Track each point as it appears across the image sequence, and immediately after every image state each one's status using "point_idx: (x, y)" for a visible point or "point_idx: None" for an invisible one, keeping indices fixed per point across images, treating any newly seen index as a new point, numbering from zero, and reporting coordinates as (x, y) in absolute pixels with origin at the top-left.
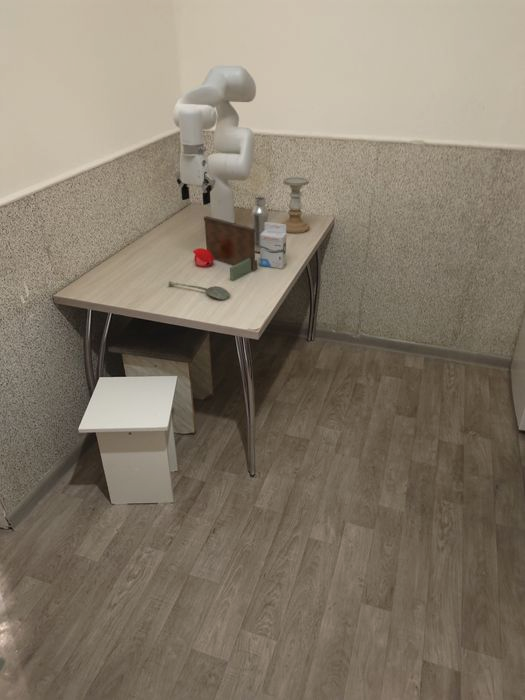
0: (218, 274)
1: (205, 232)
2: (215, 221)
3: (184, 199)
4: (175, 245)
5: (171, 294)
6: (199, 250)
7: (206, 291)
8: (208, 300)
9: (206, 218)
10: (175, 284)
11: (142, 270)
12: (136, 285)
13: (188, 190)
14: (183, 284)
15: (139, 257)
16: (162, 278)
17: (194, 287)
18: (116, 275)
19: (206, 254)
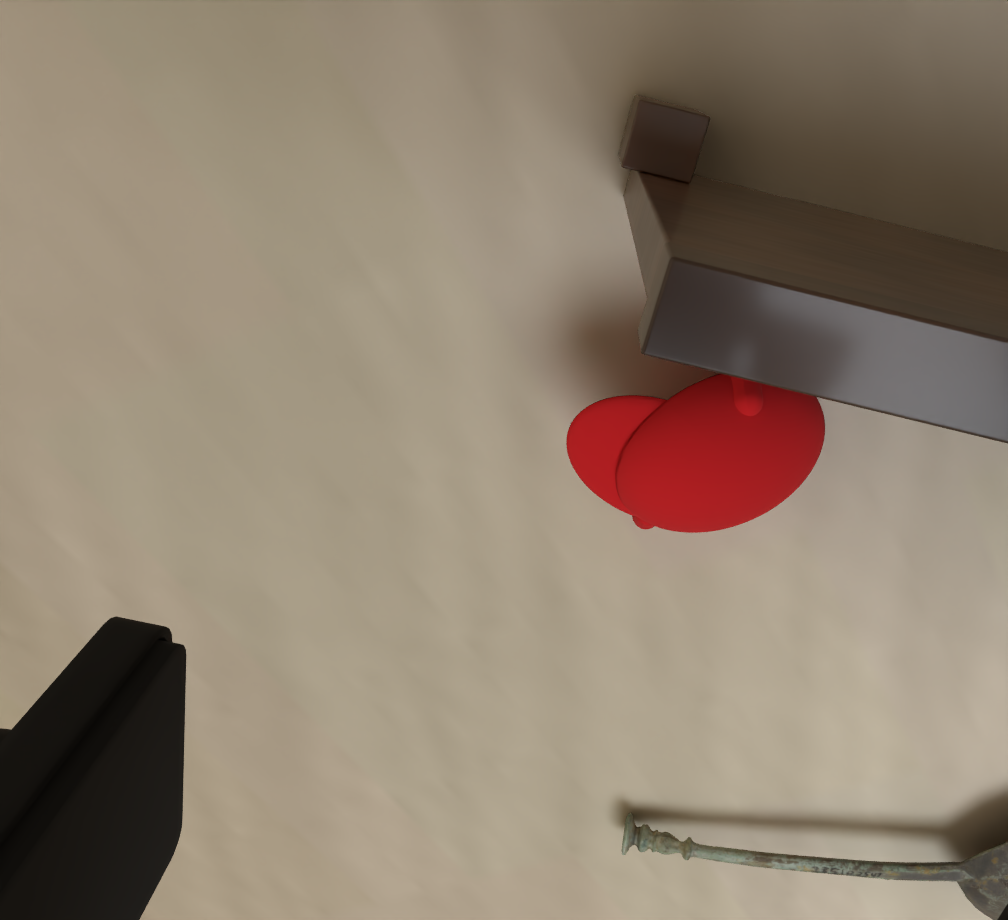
0: (923, 539)
1: (639, 264)
2: (976, 428)
3: (179, 825)
4: (62, 12)
5: (700, 901)
6: (683, 512)
7: (981, 909)
8: None
9: (724, 371)
10: (684, 856)
11: (256, 677)
12: (398, 866)
13: (24, 880)
14: (754, 863)
15: (21, 474)
16: (494, 740)
17: (857, 873)
18: None
19: (773, 498)
